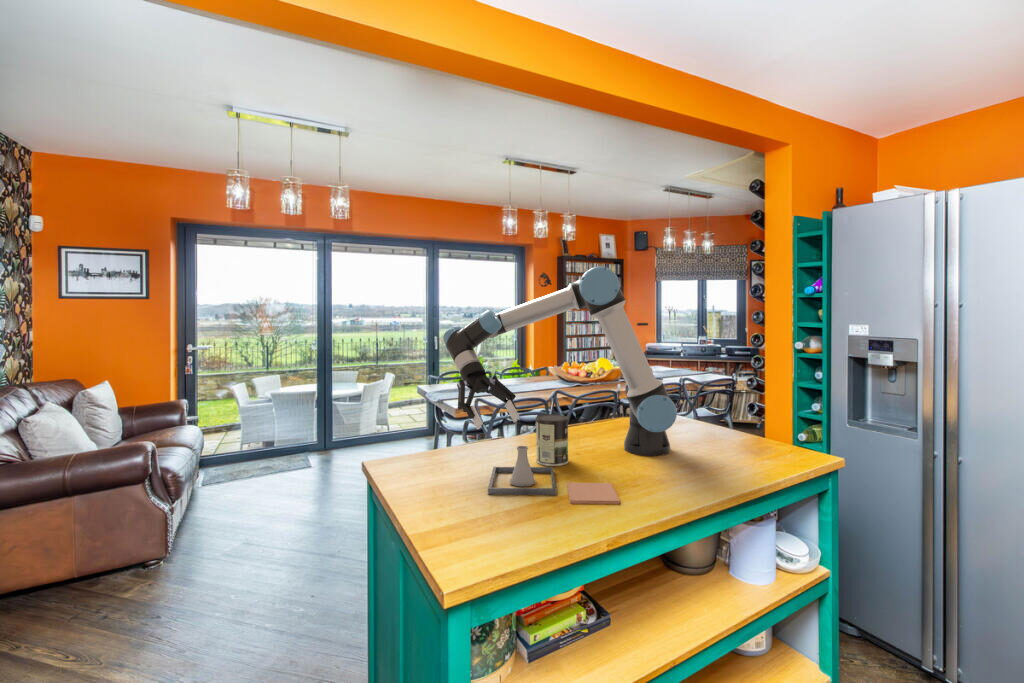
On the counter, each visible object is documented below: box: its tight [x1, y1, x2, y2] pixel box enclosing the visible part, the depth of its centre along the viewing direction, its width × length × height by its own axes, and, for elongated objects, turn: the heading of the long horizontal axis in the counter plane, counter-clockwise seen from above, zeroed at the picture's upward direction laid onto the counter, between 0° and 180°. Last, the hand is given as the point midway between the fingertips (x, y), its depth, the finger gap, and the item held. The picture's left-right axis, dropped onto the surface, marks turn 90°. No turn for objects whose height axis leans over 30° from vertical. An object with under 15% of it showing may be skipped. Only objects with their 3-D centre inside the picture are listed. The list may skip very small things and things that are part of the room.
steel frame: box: [487, 466, 557, 496], centre depth 126 cm, size 18×18×2 cm
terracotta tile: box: [566, 482, 621, 505], centre depth 117 cm, size 12×12×1 cm
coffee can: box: [535, 413, 569, 467], centre depth 144 cm, size 10×10×14 cm
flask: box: [509, 445, 536, 487], centre depth 126 cm, size 7×7×10 cm
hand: (499, 423), depth 134 cm, fingers open, 13 cm apart
